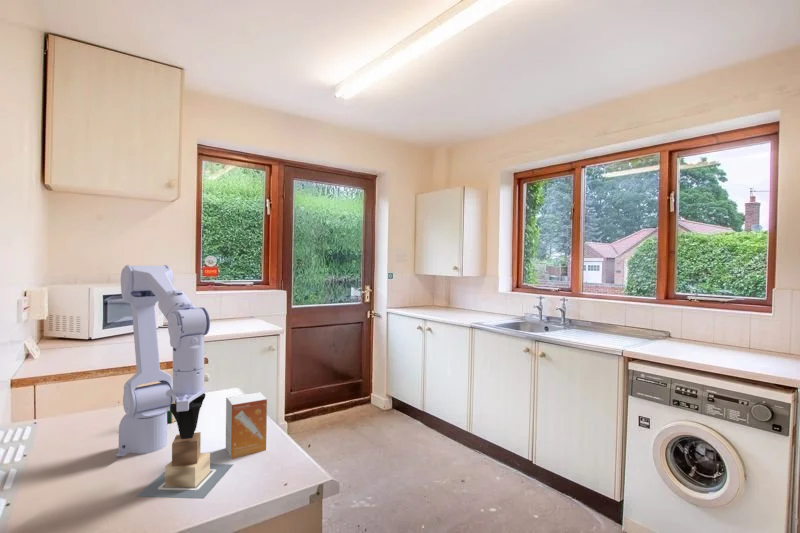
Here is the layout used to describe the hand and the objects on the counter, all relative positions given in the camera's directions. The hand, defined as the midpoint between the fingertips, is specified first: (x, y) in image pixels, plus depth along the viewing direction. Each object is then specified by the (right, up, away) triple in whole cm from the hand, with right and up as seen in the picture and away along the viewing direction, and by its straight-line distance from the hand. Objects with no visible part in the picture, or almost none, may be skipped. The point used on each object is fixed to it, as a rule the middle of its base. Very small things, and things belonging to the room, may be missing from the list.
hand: (188, 434), depth 85 cm
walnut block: (0, -5, 0) cm, 5 cm away
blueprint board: (0, -10, 0) cm, 10 cm away
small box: (+7, -10, +14) cm, 18 cm away
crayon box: (-21, -10, +35) cm, 42 cm away
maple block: (0, -9, 0) cm, 9 cm away
